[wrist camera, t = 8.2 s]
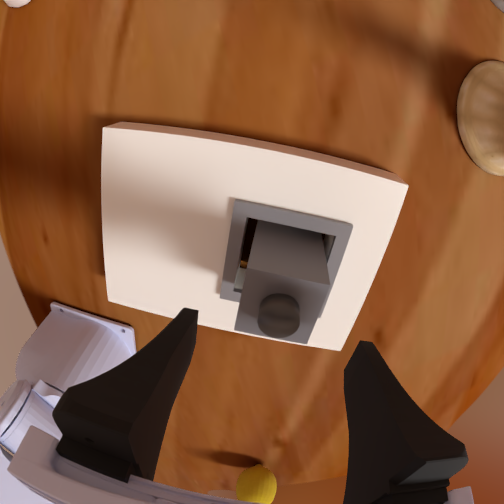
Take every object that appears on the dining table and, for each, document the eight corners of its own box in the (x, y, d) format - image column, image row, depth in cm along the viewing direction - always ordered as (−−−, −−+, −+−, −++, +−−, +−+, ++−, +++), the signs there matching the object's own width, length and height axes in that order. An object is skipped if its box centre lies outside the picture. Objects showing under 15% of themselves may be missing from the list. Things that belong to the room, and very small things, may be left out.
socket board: (121, 282, 25) (105, 303, 23) (122, 121, 19) (99, 128, 16) (337, 328, 25) (341, 354, 22) (395, 173, 19) (411, 187, 16)
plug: (249, 263, 23) (230, 342, 16) (260, 211, 21) (244, 279, 14) (304, 274, 23) (306, 357, 16) (319, 224, 21) (332, 298, 14)
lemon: (272, 455, 37) (267, 506, 30) (282, 469, 40) (278, 516, 33) (234, 457, 38) (226, 505, 31) (246, 471, 41) (240, 515, 34)
